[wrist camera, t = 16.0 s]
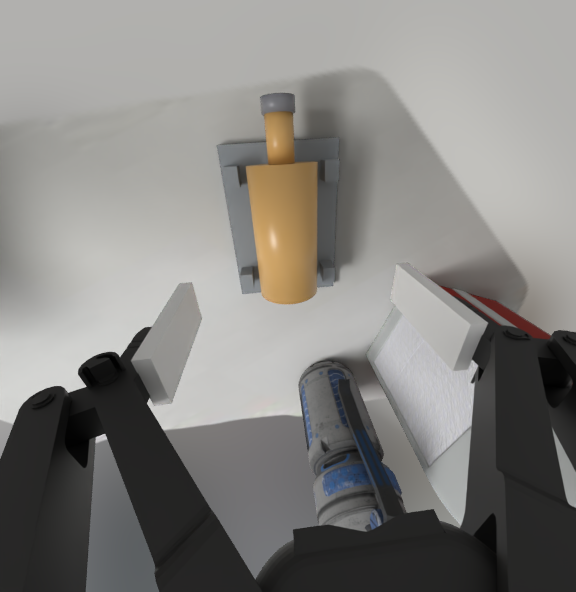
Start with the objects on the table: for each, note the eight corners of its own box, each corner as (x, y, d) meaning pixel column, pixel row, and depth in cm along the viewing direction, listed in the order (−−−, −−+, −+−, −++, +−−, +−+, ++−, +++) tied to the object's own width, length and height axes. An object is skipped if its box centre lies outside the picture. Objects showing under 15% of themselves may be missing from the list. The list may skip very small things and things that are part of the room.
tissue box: (444, 372, 48) (611, 576, 25) (363, 357, 45) (472, 581, 21) (502, 301, 41) (820, 499, 17) (411, 276, 37) (661, 486, 14)
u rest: (331, 282, 36) (337, 294, 33) (242, 290, 36) (240, 303, 33) (336, 137, 27) (345, 135, 24) (218, 145, 27) (212, 144, 24)
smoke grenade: (362, 349, 44) (459, 542, 22) (341, 399, 50) (399, 587, 28) (307, 344, 42) (351, 547, 20) (292, 396, 48) (314, 593, 27)
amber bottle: (310, 274, 35) (323, 300, 29) (260, 280, 34) (262, 307, 28) (308, 102, 25) (327, 85, 19) (238, 105, 24) (234, 89, 18)
